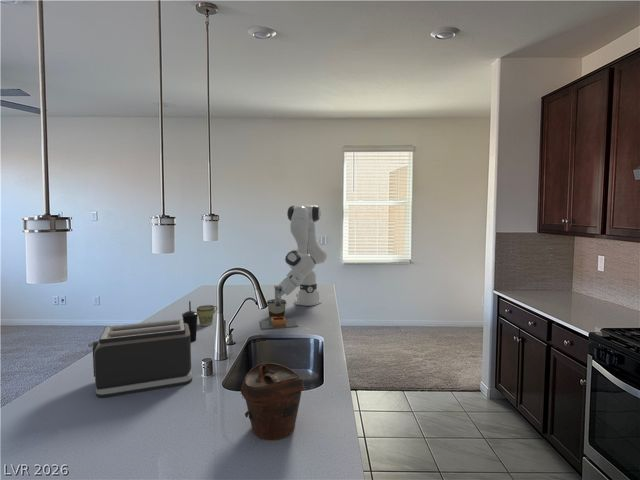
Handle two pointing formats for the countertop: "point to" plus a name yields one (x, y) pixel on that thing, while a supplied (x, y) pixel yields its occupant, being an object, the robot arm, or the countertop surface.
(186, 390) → the countertop surface
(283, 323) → the grey base plate
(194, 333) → the drinking cup
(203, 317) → the ceramic cup
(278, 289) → the square-headed pin
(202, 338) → the countertop surface
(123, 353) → the toaster
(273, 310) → the food container
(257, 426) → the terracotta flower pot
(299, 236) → the robot arm
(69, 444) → the countertop surface
